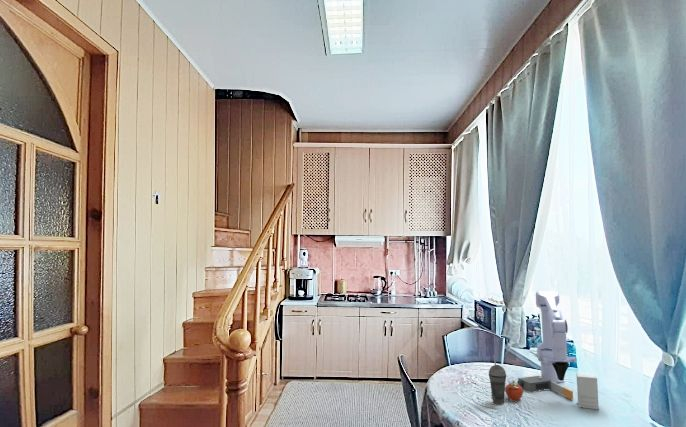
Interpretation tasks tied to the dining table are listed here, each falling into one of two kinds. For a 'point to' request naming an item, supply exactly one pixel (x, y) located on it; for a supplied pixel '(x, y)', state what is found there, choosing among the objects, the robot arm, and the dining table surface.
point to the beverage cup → (497, 383)
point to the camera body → (534, 383)
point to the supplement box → (587, 390)
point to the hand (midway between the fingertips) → (560, 379)
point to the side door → (562, 390)
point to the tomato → (514, 391)
